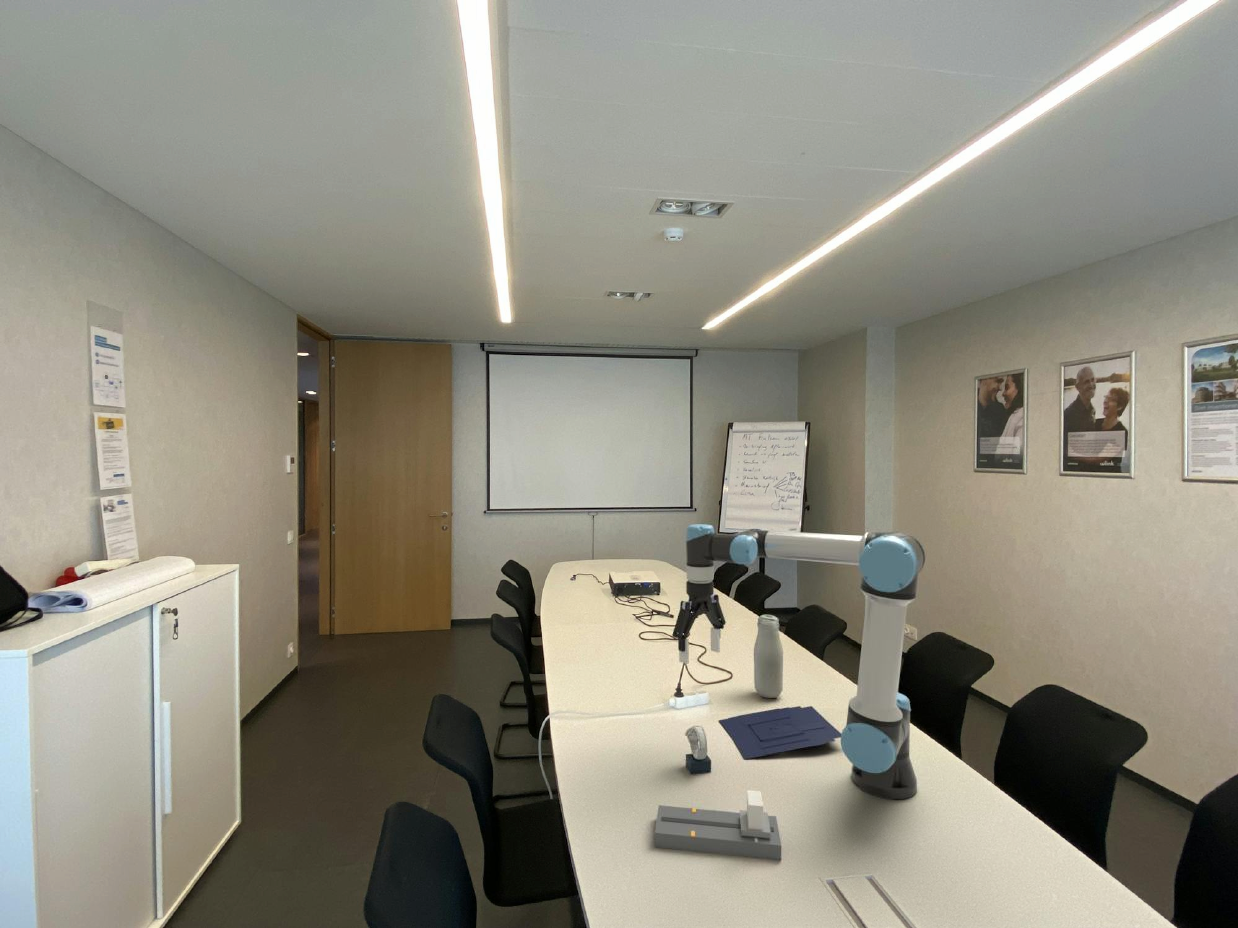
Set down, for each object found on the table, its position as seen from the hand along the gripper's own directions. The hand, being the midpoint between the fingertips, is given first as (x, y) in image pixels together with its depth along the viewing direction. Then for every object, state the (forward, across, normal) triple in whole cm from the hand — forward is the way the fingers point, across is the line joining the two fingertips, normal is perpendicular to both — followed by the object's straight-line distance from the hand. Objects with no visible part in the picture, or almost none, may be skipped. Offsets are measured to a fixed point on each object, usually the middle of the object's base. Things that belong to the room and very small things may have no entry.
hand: (700, 656), depth 166 cm
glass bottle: (+27, -47, -9) cm, 55 cm away
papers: (+27, -25, +10) cm, 38 cm away
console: (+27, +26, +26) cm, 46 cm away
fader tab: (+24, +21, +32) cm, 45 cm away
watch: (+27, +7, +5) cm, 28 cm away
